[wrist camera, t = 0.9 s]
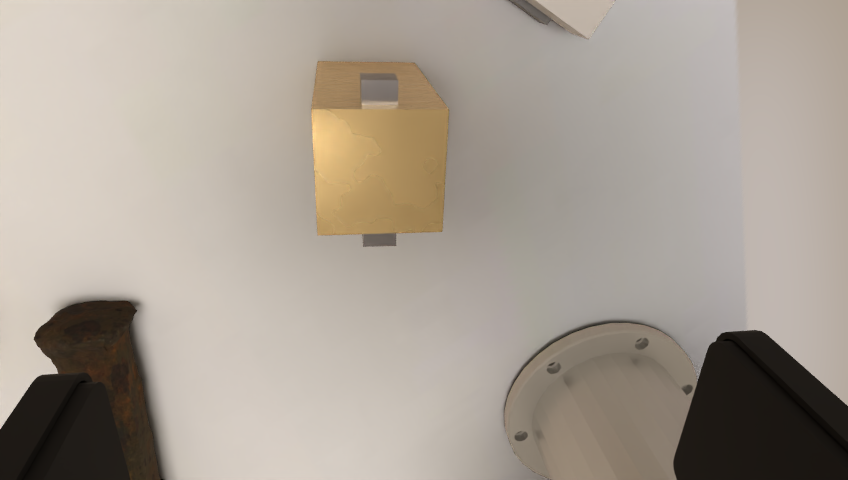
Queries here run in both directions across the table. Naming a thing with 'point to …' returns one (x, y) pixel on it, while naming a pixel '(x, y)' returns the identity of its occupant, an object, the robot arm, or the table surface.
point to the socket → (568, 13)
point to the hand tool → (105, 370)
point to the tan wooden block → (378, 151)
